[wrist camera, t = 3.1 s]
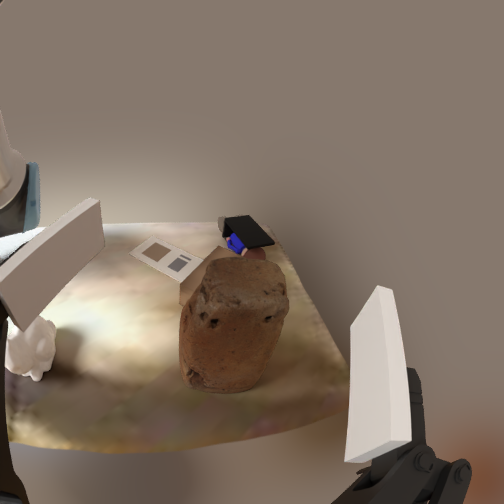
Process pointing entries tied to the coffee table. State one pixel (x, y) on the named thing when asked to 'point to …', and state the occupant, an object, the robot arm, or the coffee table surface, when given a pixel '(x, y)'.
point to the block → (232, 324)
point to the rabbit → (31, 349)
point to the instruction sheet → (166, 258)
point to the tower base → (201, 273)
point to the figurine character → (244, 236)
